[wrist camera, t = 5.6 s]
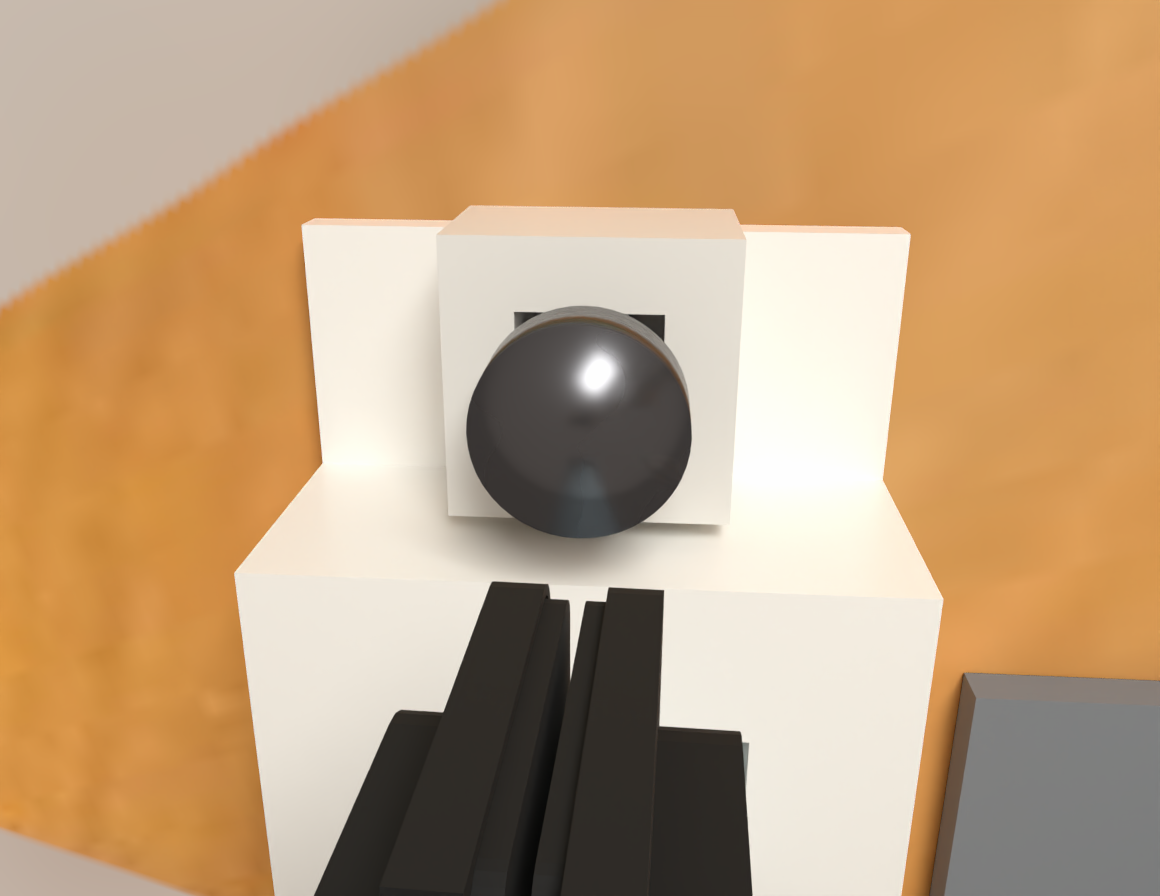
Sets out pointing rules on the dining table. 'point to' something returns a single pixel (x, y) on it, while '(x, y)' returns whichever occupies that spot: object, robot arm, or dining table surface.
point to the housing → (623, 560)
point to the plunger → (580, 423)
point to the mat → (1052, 789)
